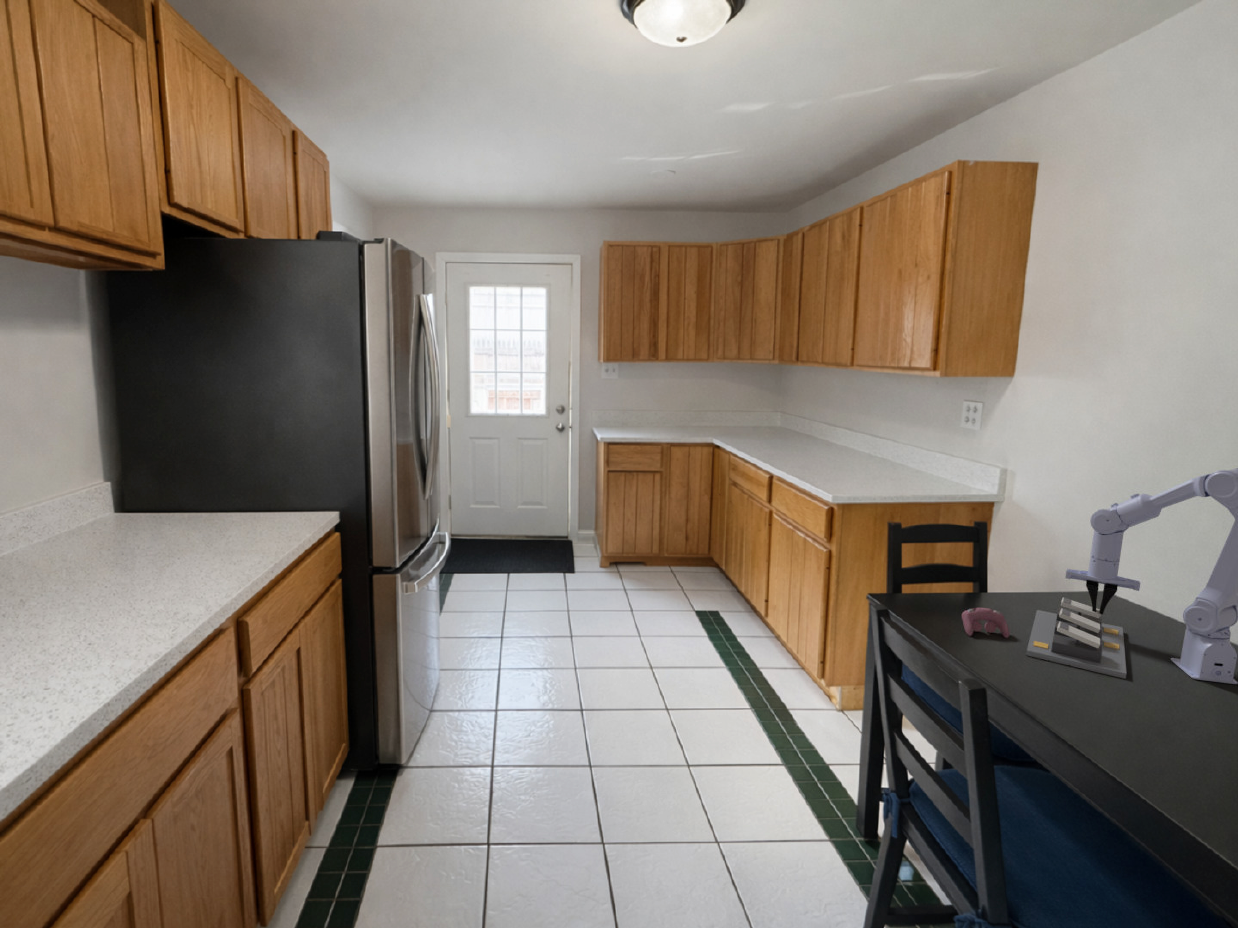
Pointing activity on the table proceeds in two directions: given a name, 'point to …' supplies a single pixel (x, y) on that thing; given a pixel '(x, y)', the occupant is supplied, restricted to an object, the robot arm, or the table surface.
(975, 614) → the video game controller
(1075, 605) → the rocker far
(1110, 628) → the switch board
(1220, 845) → the table surface
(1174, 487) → the robot arm
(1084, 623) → the rocker middle
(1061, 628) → the rocker near
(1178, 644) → the table surface
